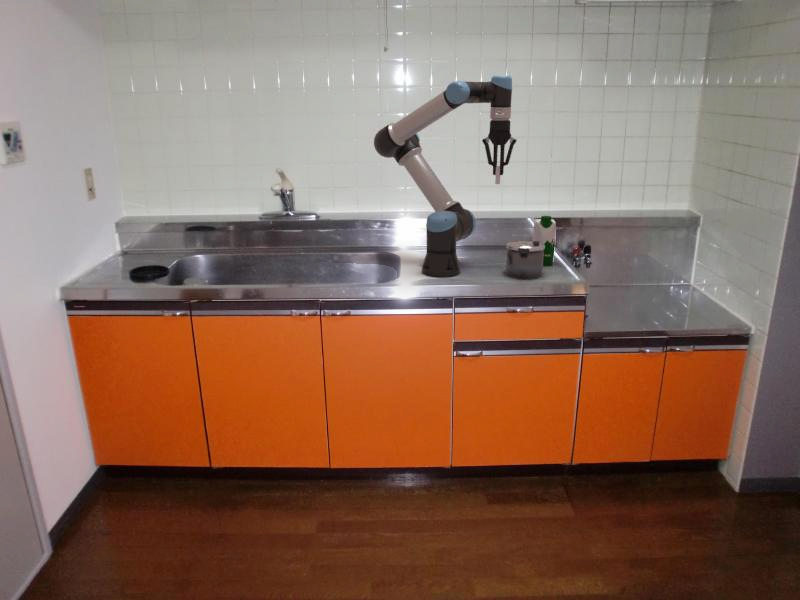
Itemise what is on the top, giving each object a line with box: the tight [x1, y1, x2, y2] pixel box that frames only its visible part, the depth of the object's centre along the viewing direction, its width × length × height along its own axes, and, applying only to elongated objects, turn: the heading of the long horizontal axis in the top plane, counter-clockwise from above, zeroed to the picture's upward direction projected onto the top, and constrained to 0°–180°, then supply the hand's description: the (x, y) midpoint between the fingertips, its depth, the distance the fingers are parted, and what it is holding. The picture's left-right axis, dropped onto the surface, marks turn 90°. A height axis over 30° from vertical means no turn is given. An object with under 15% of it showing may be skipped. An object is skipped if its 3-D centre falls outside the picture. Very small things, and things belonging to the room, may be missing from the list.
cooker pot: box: [505, 248, 544, 280], centre depth 240 cm, size 14×15×10 cm
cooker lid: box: [505, 240, 545, 252], centre depth 236 cm, size 15×16×3 cm
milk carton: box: [532, 215, 557, 266], centre depth 253 cm, size 9×9×20 cm
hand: (497, 183), depth 236 cm, fingers closed
